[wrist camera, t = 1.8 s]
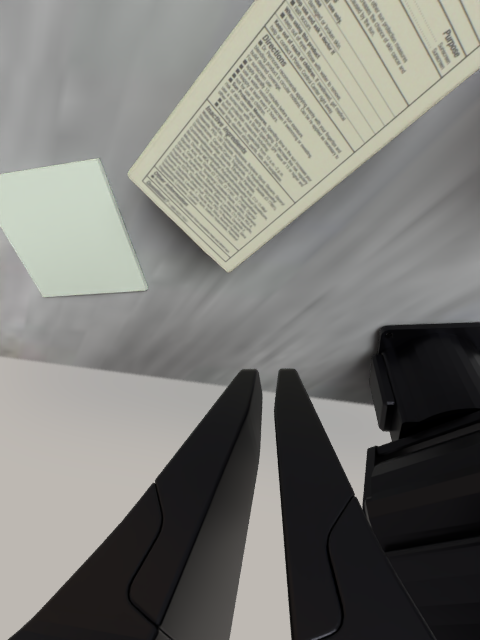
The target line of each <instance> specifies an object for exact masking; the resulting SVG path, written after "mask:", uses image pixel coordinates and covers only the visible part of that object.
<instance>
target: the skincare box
mask: <svg viewBox="0 0 480 640" xmlns="http://www.w3.org/2000/svg"><path fill="white" fill-rule="evenodd" d="M478 69H480V0H255V1H254V2H253V4H252V5H251V6H250V8H249V9H248V11H247V12H246V13H245V15H244V16H243V17H242V19H241V20H240V21H239V23H238V24H237V25H236V27H235V28H234V29H233V31H232V32H231V33H230V35H229V36H228V37H227V39H226V40H225V41H224V43H223V44H222V45H221V47H220V48H219V50H218V51H217V52H216V54H215V55H214V56H213V58H212V59H211V60H210V62H209V63H208V65H207V66H206V67H205V69H204V70H203V71H202V73H201V74H200V75H199V77H198V78H197V80H196V81H195V82H194V84H193V85H192V86H191V88H190V89H189V90H188V92H187V93H186V94H185V96H184V97H183V99H182V100H181V101H180V103H179V104H178V105H177V106H176V108H175V109H174V110H173V112H172V113H171V115H170V116H169V117H168V119H167V120H166V121H165V123H164V124H163V125H162V127H161V128H160V129H159V131H158V132H157V133H156V135H155V136H154V137H153V139H152V140H151V142H150V143H149V144H148V146H147V147H146V149H145V150H144V151H143V153H142V154H141V155H140V157H139V158H138V159H137V161H136V162H135V163H134V165H133V166H132V167H131V169H130V170H129V172H128V177H129V178H130V179H131V180H132V181H133V182H134V183H135V184H136V185H137V186H138V187H139V188H140V189H141V190H142V191H143V192H144V193H145V194H146V195H147V196H148V197H149V198H150V199H151V200H152V201H153V202H154V203H155V204H156V205H157V206H158V207H159V208H160V209H161V210H162V211H163V212H164V213H165V214H166V215H167V216H168V217H169V218H171V219H172V220H173V221H174V222H175V223H176V224H177V225H178V226H179V227H180V228H181V229H182V230H183V231H184V232H185V233H186V234H187V235H188V236H189V237H190V238H191V239H192V240H193V241H194V242H195V243H196V244H197V245H198V246H199V247H200V248H201V249H202V250H203V251H204V252H205V253H206V254H208V255H209V256H210V257H211V258H212V259H213V260H214V261H216V262H217V263H218V264H219V265H220V266H221V267H222V268H223V269H224V270H225V271H226V272H227V273H229V272H231V271H232V270H234V269H235V268H236V267H237V266H239V265H240V264H241V263H242V262H244V261H245V260H246V259H247V258H248V257H250V256H251V255H252V254H253V253H255V252H256V251H257V250H258V249H259V248H261V247H262V246H263V245H264V244H266V243H267V242H268V241H269V240H270V239H272V238H273V237H274V236H275V235H276V234H278V233H279V232H280V231H281V230H283V229H284V228H285V227H286V226H287V225H289V224H290V223H291V222H292V221H294V220H295V219H296V218H297V217H299V216H300V215H301V214H302V213H303V212H304V211H306V210H307V209H308V208H309V207H311V206H312V205H313V204H314V203H316V202H317V201H318V200H319V199H321V198H322V197H323V196H324V195H325V194H327V193H328V192H329V191H330V190H332V189H333V188H334V187H335V186H337V185H338V184H339V183H340V182H341V181H343V180H344V179H345V178H346V177H347V176H349V175H350V174H351V173H352V172H354V171H355V170H356V169H357V168H359V167H360V166H361V165H362V164H363V163H365V162H366V161H367V160H368V159H370V158H371V157H372V156H373V155H375V154H376V153H377V152H378V151H379V150H381V149H382V148H383V147H384V146H385V145H387V144H388V143H389V142H390V141H391V140H393V139H394V138H395V137H396V136H398V135H399V134H400V133H401V132H402V131H404V130H405V129H406V128H407V127H408V126H410V125H411V124H412V123H413V122H415V121H416V120H417V119H418V118H420V117H421V116H422V115H423V114H424V113H426V112H427V111H428V110H429V109H431V108H432V107H433V106H434V105H435V104H437V103H438V102H439V101H440V100H442V99H443V98H444V97H445V96H446V95H448V94H449V93H450V92H451V91H453V90H454V89H455V88H456V87H458V86H459V85H460V84H461V83H462V82H464V81H465V80H466V79H467V78H469V77H470V76H471V75H472V74H474V73H475V72H476V71H477V70H478Z"/></svg>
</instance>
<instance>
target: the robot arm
mask: <svg viewBox="0 0 480 640" xmlns="http://www.w3.org/2000/svg"><path fill="white" fill-rule="evenodd" d="M387 333H391V334H390V335H386V334H387ZM369 383H370V388H371V393H372V397H373V402H374V406H375V411H376V416H377V420H378V425H379V428H380V429H381V430H382V431H389V432H390V435H391V439H392V442H390V443H388V444H384V445H382V446H379V447H378V446H374V447H371V448H368V450H367V460H366V473H365V484H364V495H363V510H362V508H361V505H360V503H359V501H358V499H357V498H356V497H354V495H355V494H354V491H353V489H352V487H351V485H350V483H349V481H348V479H347V476H346V474H345V472H344V470H343V468H342V466H341V464H340V462H339V459H338V457H337V455H336V453H335V451H334V449H333V447H332V445H331V443H330V441H329V438H328V436H327V434H326V432H325V430H324V428H323V426H322V423H321V421H320V419H319V417H318V415H317V413H316V411H315V409H314V407H313V404H312V402H311V400H310V398H309V396H308V394H307V392H306V390H305V388H304V385H303V383H302V381H301V379H300V377H299V375H298V373H297V371H296V370H295V369H280V370H279V372H278V380H277V388H276V397H275V407H274V418H275V430H276V431H275V432H276V444H277V457H278V470H279V482H280V496H281V509H282V521H283V535H284V547H285V561H286V574H287V587H288V598H289V599H288V600H289V612H290V625H291V638H292V640H480V323H452V324H424V325H395V326H385V327H383V328H382V329H381V330H380V333H379V342H378V351H377V354H374V355H373V356H372V358H371V368H370V378H369ZM261 420H262V388H261V383H260V377H259V372H258V370H256V369H242V370H241V371H240V372H239V373H238V374H237V376H236V377H235V378H234V379H233V381H232V382H231V383H230V385H229V386H228V387H227V388H226V390H225V391H224V392H223V394H222V395H221V396H220V397H219V399H218V400H217V401H216V403H215V404H214V405H213V406H212V408H211V409H210V410H209V412H208V413H207V414H206V415H205V417H204V418H203V419H202V421H201V422H200V423H199V424H198V426H197V427H196V428H195V430H194V431H193V432H192V433H191V435H190V436H189V437H188V439H187V440H186V441H185V442H184V444H183V445H182V446H181V448H180V449H179V450H178V452H177V453H176V454H175V455H174V457H173V458H172V459H171V460H170V462H169V463H168V464H167V465H166V467H165V468H164V469H163V471H162V472H161V473H160V474H159V476H158V477H157V478H156V480H155V483H156V484H155V483H153V484H152V485H151V486H150V487H149V488H148V490H147V491H146V492H145V493H144V495H143V496H142V497H141V499H140V500H139V501H138V502H137V504H136V505H135V506H134V507H133V508H132V510H131V511H130V512H129V513H128V514H127V516H126V517H125V518H124V520H123V521H122V522H121V523H120V524H119V525H118V526H117V527H116V528H115V530H114V531H113V532H112V533H111V534H110V535H109V536H108V537H107V539H106V540H105V541H104V542H103V543H102V544H101V545H100V546H99V547H98V548H97V550H96V551H95V552H94V553H93V554H92V555H91V556H90V557H89V558H88V559H87V560H86V562H84V564H83V565H82V566H81V567H80V568H79V569H78V570H77V571H76V572H75V573H74V574H73V575H72V576H71V578H70V579H69V580H68V581H67V582H66V583H65V584H64V585H63V586H62V587H61V588H60V589H59V590H58V592H57V593H56V594H55V595H54V596H53V597H52V598H51V599H50V600H49V601H48V602H47V603H46V604H45V605H44V607H43V608H42V609H41V610H40V611H39V612H38V613H37V614H36V615H35V616H34V617H33V618H32V619H31V620H30V621H29V622H27V623H26V624H25V625H24V626H23V627H22V628H21V629H20V630H19V631H18V632H16V633H15V634H14V635H13V636H12V637H10V638H9V639H8V640H229V638H230V632H231V626H232V619H233V614H234V608H235V602H236V595H237V590H238V584H239V578H240V572H241V566H242V560H243V554H244V548H245V542H246V536H247V530H248V524H249V518H250V512H251V506H252V500H253V494H254V489H255V483H256V476H257V470H258V464H259V456H260V441H261Z"/></svg>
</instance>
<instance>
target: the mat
mask: <svg viewBox="0 0 480 640" xmlns="http://www.w3.org/2000/svg"><path fill="white" fill-rule="evenodd" d="M0 227H1V228H2V230H3V232H4V233H5V235H6V236H7V238H8V240H9V241H10V243H11V245H12V246H13V248H14V250H15V251H16V253H17V255H18V256H19V258H20V260H21V261H22V263H23V265H24V266H25V268H26V270H27V271H28V273H29V275H30V276H31V278H32V280H33V281H34V283H35V285H36V286H37V288H38V290H39V291H40V293H41V295H42V296H43V297H54V296H69V295H84V294H100V293H115V292H130V291H146V290H147V289H148V286H147V284H146V281H145V278H144V276H143V273H142V270H141V268H140V265H139V262H138V260H137V257H136V254H135V252H134V249H133V246H132V244H131V241H130V238H129V236H128V233H127V230H126V228H125V225H124V222H123V220H122V217H121V214H120V212H119V209H118V206H117V204H116V201H115V198H114V196H113V193H112V190H111V188H110V185H109V182H108V180H107V177H106V174H105V172H104V169H103V166H102V164H101V161H100V158H96V159H90V160H84V161H78V162H72V163H66V164H59V165H53V166H47V167H41V168H35V169H29V170H22V171H16V172H10V173H4V174H0Z"/></svg>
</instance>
